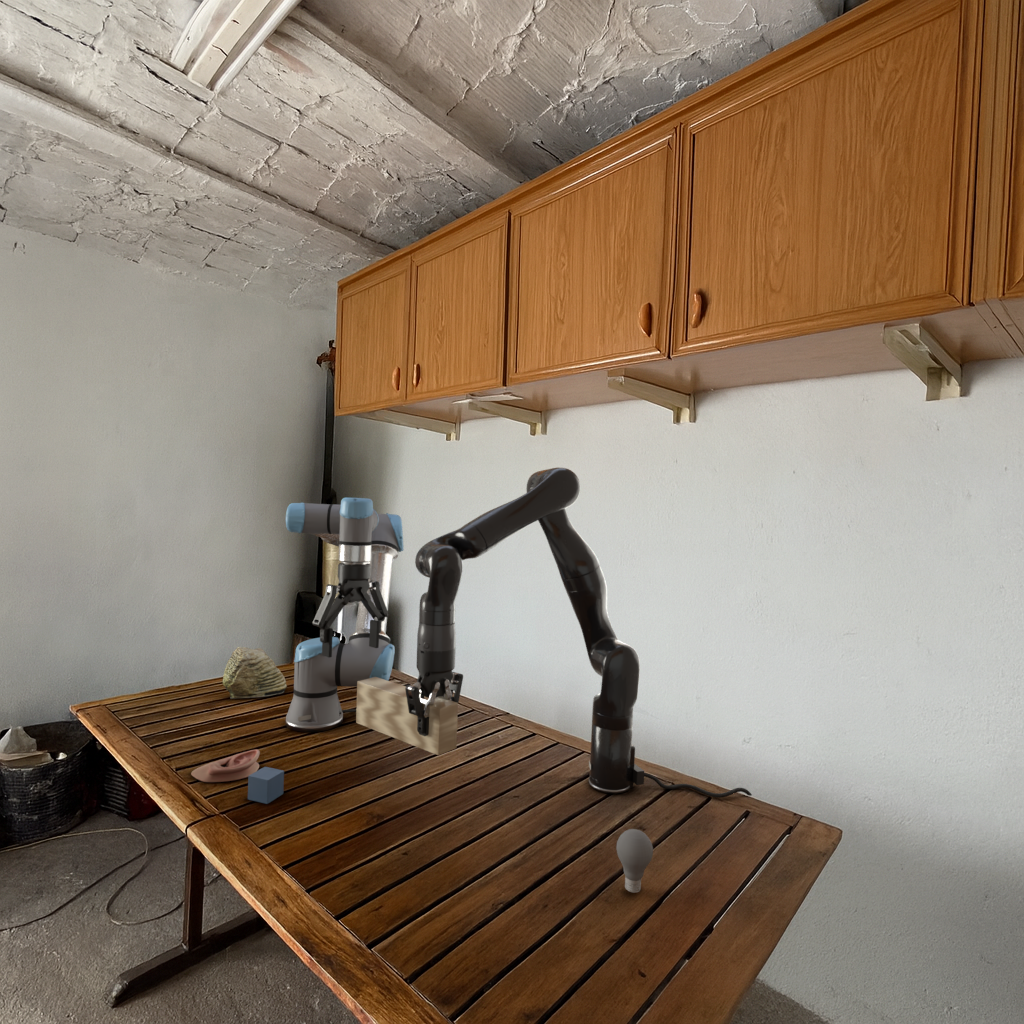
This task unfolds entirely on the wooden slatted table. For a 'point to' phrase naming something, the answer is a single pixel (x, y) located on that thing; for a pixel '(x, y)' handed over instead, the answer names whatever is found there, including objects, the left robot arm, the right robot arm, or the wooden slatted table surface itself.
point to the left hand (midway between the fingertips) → (351, 651)
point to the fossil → (252, 674)
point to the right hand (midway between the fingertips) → (433, 730)
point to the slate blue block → (265, 785)
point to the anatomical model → (229, 768)
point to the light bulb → (634, 857)
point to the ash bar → (405, 716)
